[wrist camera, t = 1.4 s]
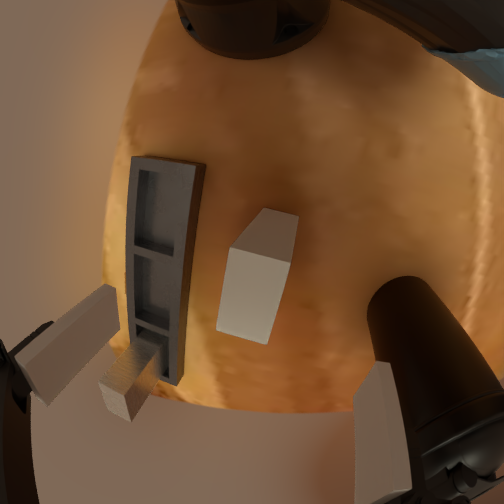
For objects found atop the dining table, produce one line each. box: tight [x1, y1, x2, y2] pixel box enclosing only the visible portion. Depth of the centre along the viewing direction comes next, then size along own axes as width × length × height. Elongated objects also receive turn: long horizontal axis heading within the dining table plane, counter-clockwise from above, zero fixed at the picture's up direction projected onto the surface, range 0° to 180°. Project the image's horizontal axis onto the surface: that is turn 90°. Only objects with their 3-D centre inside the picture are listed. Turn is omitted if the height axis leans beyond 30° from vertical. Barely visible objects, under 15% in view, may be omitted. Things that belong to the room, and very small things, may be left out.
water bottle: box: [367, 276, 504, 502], centre depth 16 cm, size 10×10×23 cm
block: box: [216, 208, 299, 345], centre depth 22 cm, size 6×4×12 cm, turn 169°
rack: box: [98, 156, 206, 422], centre depth 26 cm, size 30×8×13 cm, turn 169°
